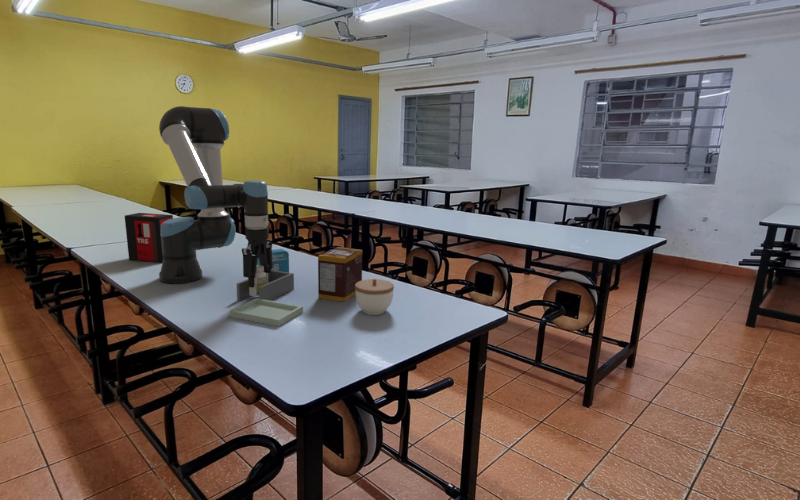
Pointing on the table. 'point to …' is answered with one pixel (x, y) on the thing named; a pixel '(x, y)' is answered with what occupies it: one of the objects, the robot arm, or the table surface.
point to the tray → (266, 312)
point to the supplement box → (339, 273)
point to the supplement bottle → (260, 277)
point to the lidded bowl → (374, 295)
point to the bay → (269, 286)
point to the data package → (279, 260)
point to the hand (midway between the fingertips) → (259, 292)
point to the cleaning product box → (145, 236)
